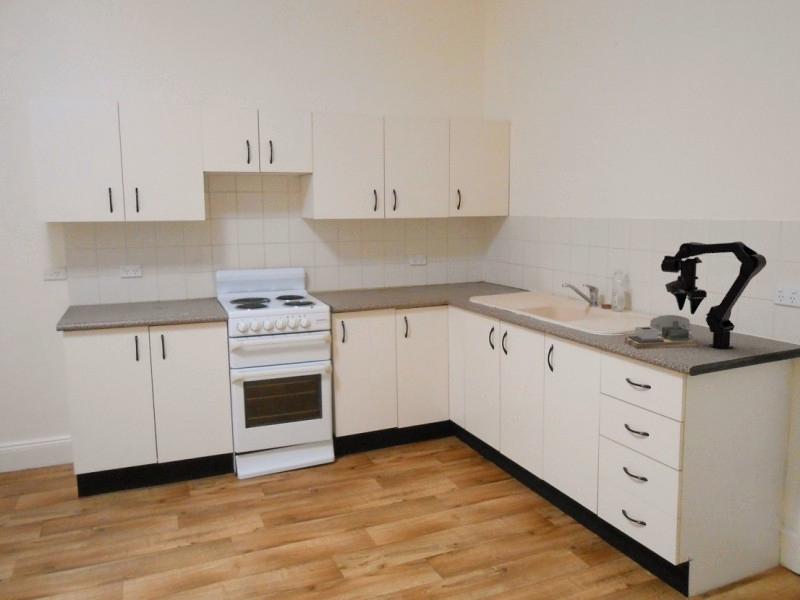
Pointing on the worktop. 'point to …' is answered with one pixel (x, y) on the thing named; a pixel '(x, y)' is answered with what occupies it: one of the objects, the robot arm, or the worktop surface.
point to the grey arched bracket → (670, 323)
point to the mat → (645, 340)
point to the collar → (646, 333)
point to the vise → (667, 338)
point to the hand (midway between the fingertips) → (686, 312)
